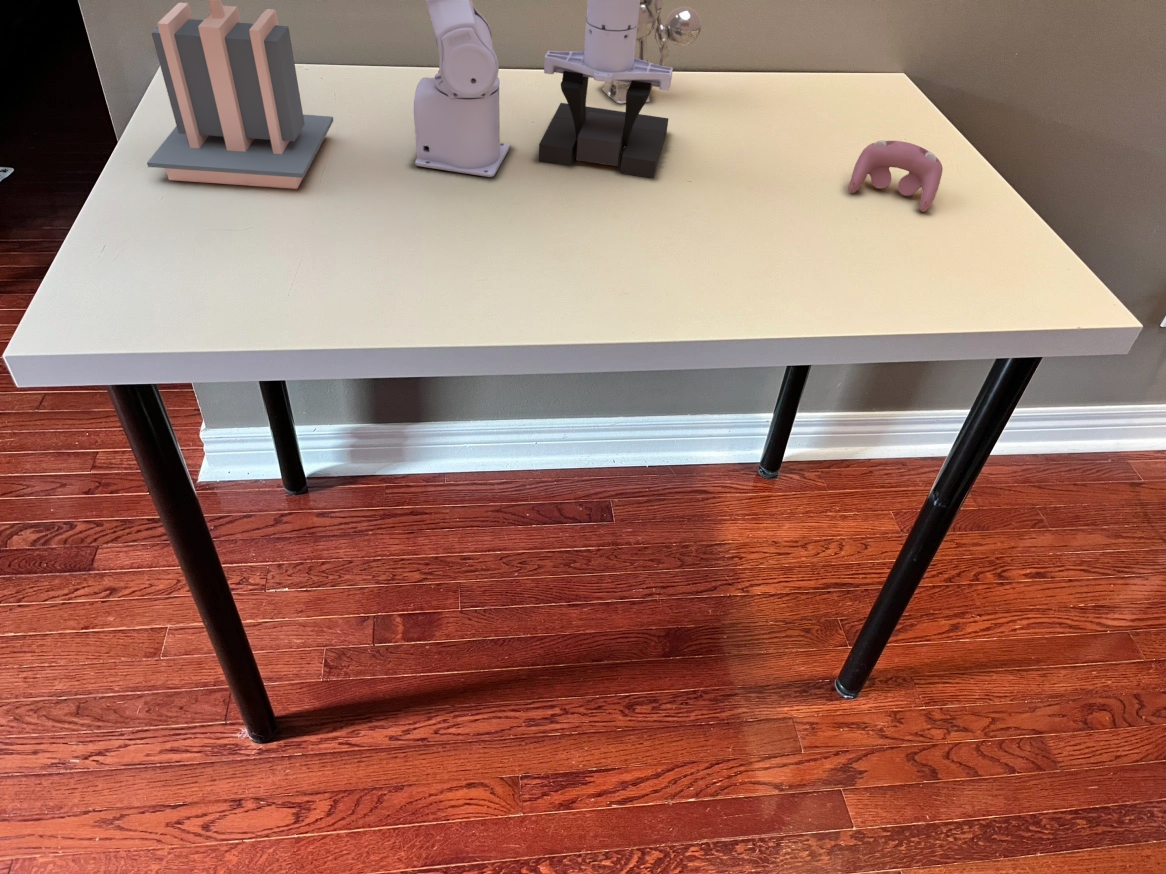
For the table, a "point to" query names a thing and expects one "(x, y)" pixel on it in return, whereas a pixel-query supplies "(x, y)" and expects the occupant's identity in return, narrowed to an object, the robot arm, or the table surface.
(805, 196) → the table surface
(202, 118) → the striped block on base
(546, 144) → the notched dark slab
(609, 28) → the robot arm
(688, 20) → the robot toy
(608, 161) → the pad
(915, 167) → the video game controller
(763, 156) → the table surface
